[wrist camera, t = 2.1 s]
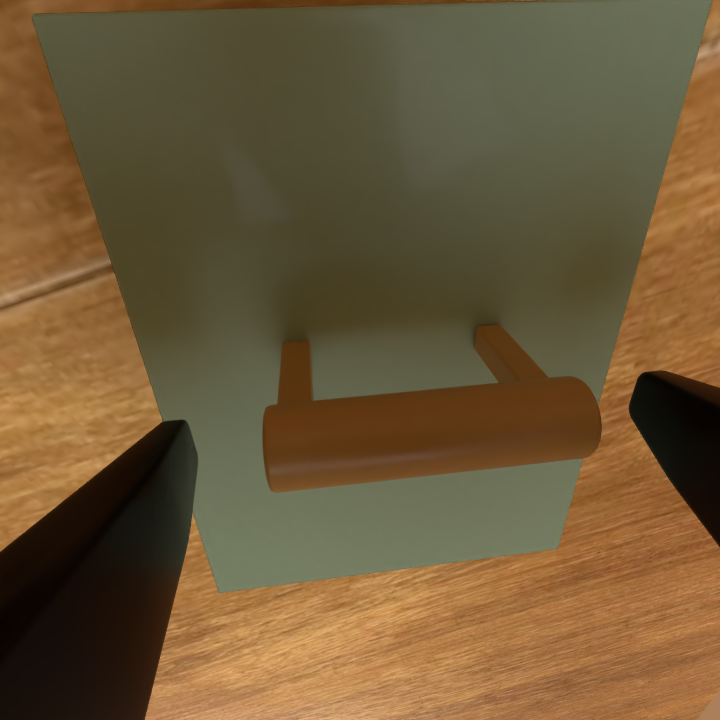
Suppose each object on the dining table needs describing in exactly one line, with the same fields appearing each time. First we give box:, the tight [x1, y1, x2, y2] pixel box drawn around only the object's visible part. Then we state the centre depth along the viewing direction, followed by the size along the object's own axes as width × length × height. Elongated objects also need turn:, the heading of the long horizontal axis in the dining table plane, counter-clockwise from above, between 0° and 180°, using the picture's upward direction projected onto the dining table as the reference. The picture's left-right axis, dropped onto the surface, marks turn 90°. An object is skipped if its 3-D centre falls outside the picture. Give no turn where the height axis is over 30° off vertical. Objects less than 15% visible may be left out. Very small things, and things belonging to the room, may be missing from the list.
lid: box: [32, 0, 713, 593], centre depth 11 cm, size 16×13×5 cm
